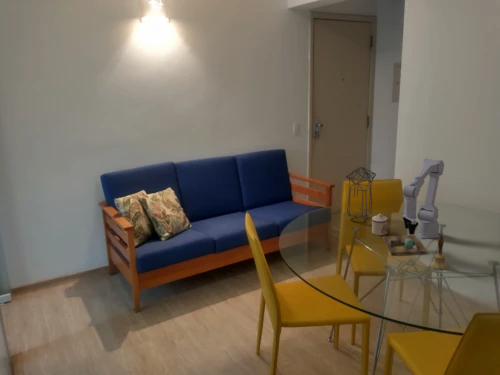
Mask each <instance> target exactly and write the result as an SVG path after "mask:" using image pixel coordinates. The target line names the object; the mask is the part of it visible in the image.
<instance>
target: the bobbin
mask: <svg viewBox="0 0 500 375" xmlns="http://www.w3.org/2000/svg"><path fill="white" fill-rule="evenodd" d="M404 249H414V245H413V239H410V238H407V239H405V245H404Z"/></svg>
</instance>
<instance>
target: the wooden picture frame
mask: <svg viewBox="0 0 500 375" xmlns="http://www.w3.org/2000/svg"><path fill="white" fill-rule="evenodd" d="M398 238H401V243H394V244H393V247H391V240H398ZM407 238H410V239H413V246H415V248H413V249H405V248H404V249H396V248H395V246H405V239H407ZM382 240H383V242H384V244H385V247H386V248H387V250H388V252H389V253H390V255H391V256H397V255H396V254H406V255H427V250H426V248H425V247H424V245H423V244H422V242H421V241H420V239H419V238H418V237H417V236H416V234H414V235H410V234H408V235H407V234H405V235H388V236H387V235H386V236H385V235H383V236H382ZM424 253H426V254H424Z"/></svg>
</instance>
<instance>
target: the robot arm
mask: <svg viewBox="0 0 500 375" xmlns="http://www.w3.org/2000/svg"><path fill="white" fill-rule="evenodd" d="M421 165H422V166H421V169H420V171H419V173H418V175H414V177H413V178H412V179H411V181H410V182H409V184H407V185H405V186H404V188H403V190H402V195H403V200H404V211H403V212H404V213H403V214H402V215H401V218H402V219H403V224H404V228H405V229H406V230H407V229H408V235H415V232H416V230H417V227H418V226H419V231H417V234H418V235H419V237H420V238H421V239H439V237H440V235H439V233H440V232H439V230H440V225H439V224H440V223H439V221H438V218H439V209H438V207H437V206H435V201H436V195H437V192H438V191H437V190H438V186H439V180H440V177H441V176H443V174H444V169H445V163H444V161H443V160H442V159H441V160H440V159H433V158H424V159H423V160H422V164H421ZM428 176H429V178H428V184H427V187H426V188H427V189H426V194H425V200H424V203H423V204H421V205H419V208H418V210H417V199H418V196H419V194H420V191H421V188H422V187H423V185H424V184H425V179H426V178H427V177H428ZM417 219H419V220H418V221H419V222H420V224H419V222H418V221H417Z"/></svg>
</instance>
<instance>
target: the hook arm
mask: <svg viewBox="0 0 500 375" xmlns="http://www.w3.org/2000/svg"><path fill="white" fill-rule="evenodd" d="M394 243H401V238H398V240H391V247H393V244H394Z"/></svg>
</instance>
